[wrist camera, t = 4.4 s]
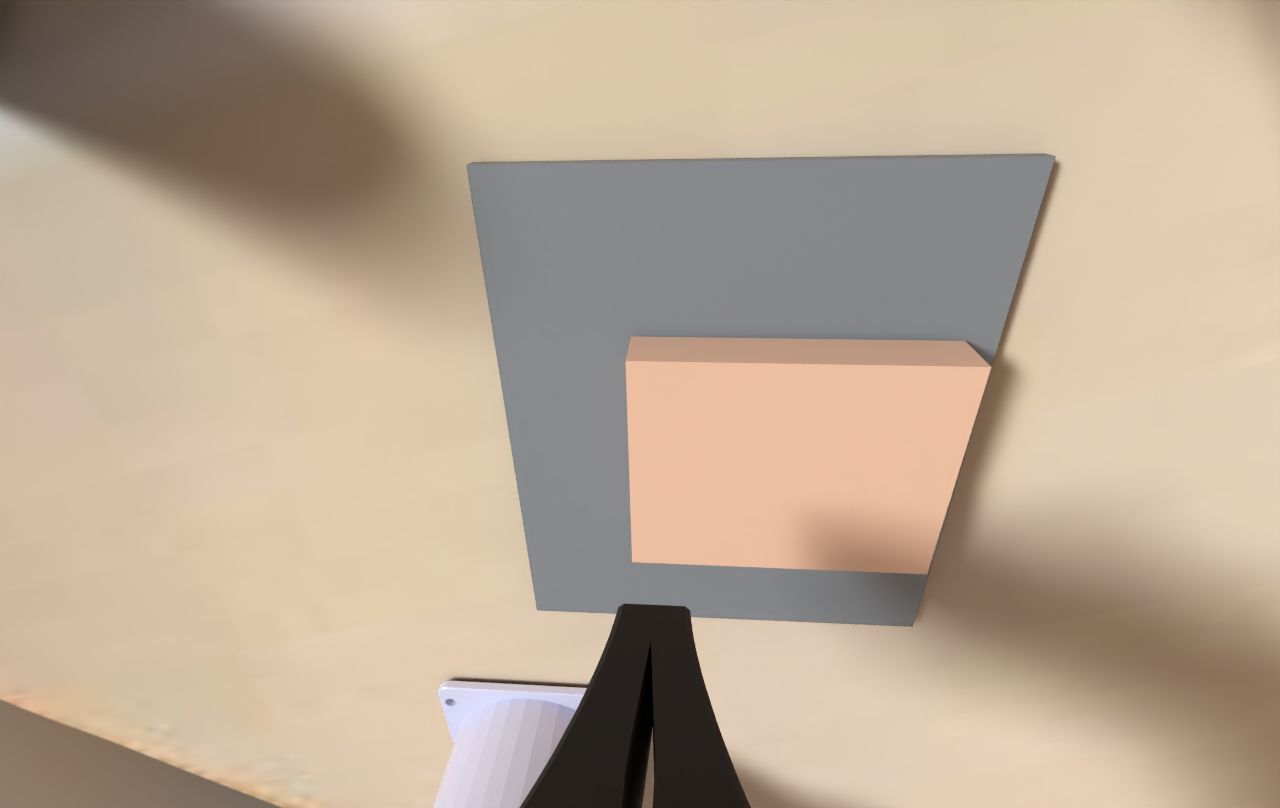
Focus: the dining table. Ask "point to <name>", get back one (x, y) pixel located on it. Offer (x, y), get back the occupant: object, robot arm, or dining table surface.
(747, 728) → the dining table surface
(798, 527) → the tile
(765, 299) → the slate pad
